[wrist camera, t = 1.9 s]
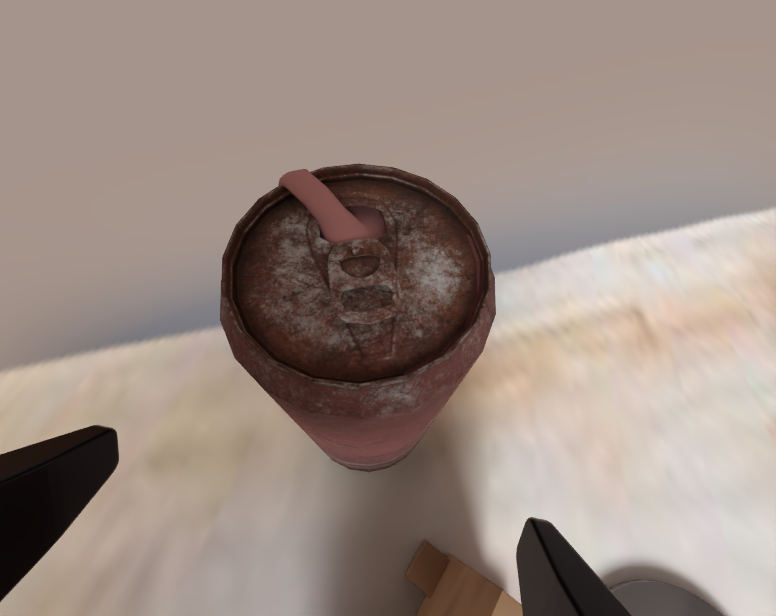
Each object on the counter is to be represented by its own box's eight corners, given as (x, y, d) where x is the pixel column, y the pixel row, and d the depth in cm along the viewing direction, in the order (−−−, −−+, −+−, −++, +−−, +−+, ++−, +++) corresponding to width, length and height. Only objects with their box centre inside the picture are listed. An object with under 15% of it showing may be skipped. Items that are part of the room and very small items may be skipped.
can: (365, 334, 22) (353, 112, 9) (447, 409, 20) (568, 252, 7) (285, 408, 19) (130, 243, 7) (368, 500, 17) (354, 493, 5)
